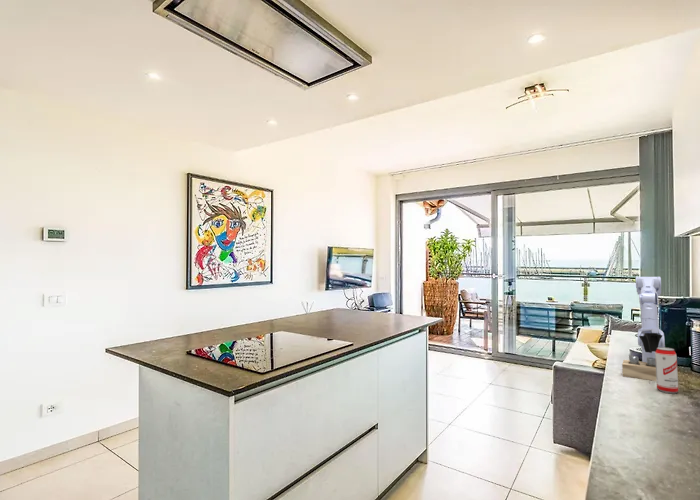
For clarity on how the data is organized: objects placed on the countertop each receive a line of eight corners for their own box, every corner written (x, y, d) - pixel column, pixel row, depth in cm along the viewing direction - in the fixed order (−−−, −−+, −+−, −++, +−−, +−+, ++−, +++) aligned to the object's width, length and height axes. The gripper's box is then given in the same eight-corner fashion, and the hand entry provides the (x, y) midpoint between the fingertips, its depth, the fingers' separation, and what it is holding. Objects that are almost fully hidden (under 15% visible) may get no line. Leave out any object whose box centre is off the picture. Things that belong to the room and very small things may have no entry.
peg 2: (647, 367, 163) (646, 357, 163) (656, 369, 161) (656, 358, 161) (647, 369, 160) (646, 358, 160) (656, 370, 158) (656, 359, 158)
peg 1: (630, 365, 166) (629, 355, 167) (639, 366, 164) (638, 356, 165) (629, 367, 164) (629, 356, 164) (638, 368, 162) (638, 357, 162)
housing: (624, 370, 171) (623, 359, 171) (661, 375, 163) (660, 363, 163) (622, 376, 162) (622, 364, 162) (661, 381, 154) (661, 369, 154)
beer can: (683, 394, 139) (680, 350, 140) (666, 394, 139) (663, 350, 140) (669, 388, 145) (666, 346, 146) (652, 388, 145) (650, 346, 146)
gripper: (634, 321, 172) (635, 351, 168) (642, 316, 159) (644, 349, 156) (653, 322, 169) (655, 353, 165) (663, 318, 156) (665, 352, 153)
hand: (651, 351), depth 160 cm, fingers open, 7 cm apart
